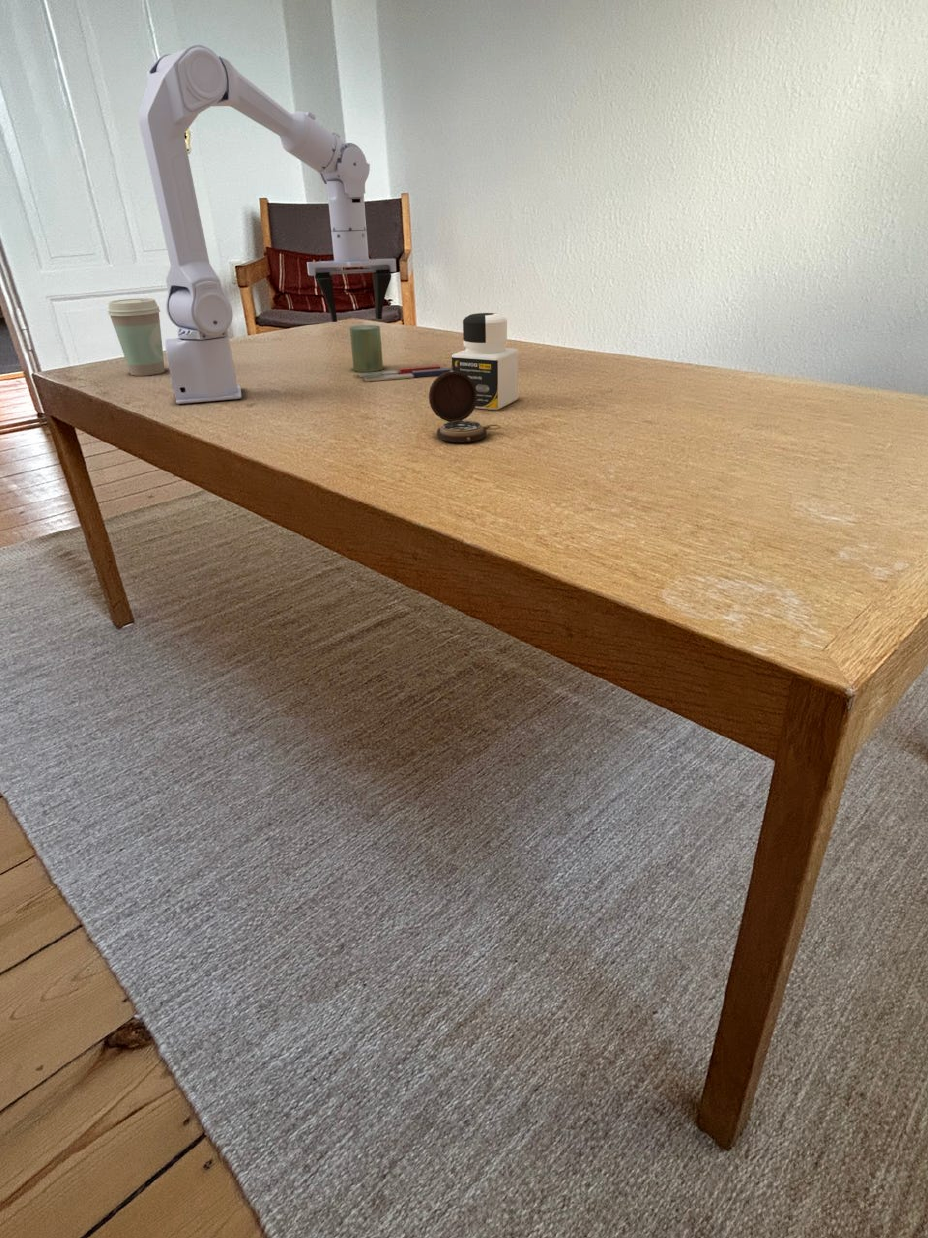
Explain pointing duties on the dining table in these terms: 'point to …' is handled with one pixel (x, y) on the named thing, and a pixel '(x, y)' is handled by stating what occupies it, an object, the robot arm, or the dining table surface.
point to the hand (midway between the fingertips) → (356, 319)
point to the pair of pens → (401, 370)
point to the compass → (456, 407)
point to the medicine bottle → (488, 360)
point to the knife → (410, 374)
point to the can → (366, 348)
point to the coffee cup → (139, 334)
